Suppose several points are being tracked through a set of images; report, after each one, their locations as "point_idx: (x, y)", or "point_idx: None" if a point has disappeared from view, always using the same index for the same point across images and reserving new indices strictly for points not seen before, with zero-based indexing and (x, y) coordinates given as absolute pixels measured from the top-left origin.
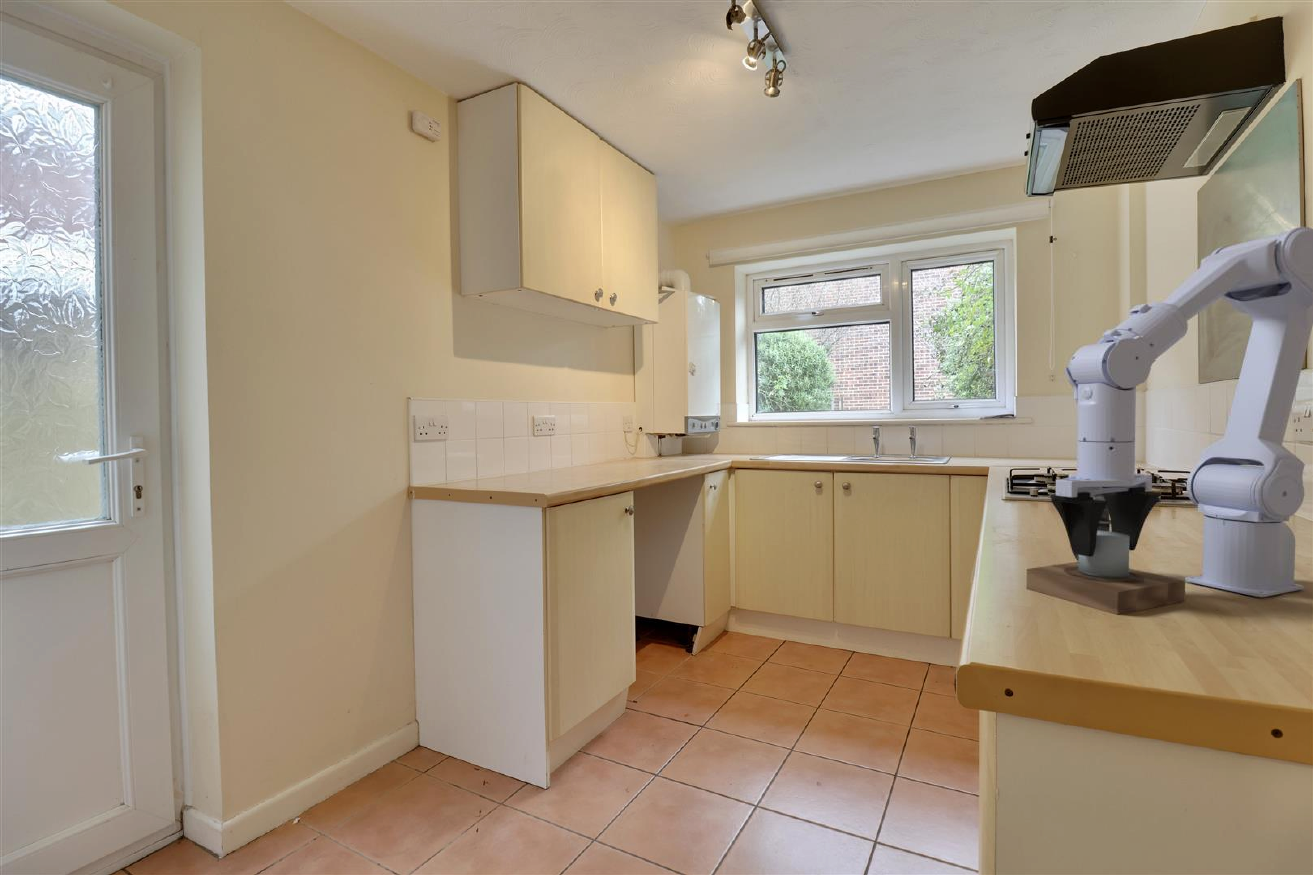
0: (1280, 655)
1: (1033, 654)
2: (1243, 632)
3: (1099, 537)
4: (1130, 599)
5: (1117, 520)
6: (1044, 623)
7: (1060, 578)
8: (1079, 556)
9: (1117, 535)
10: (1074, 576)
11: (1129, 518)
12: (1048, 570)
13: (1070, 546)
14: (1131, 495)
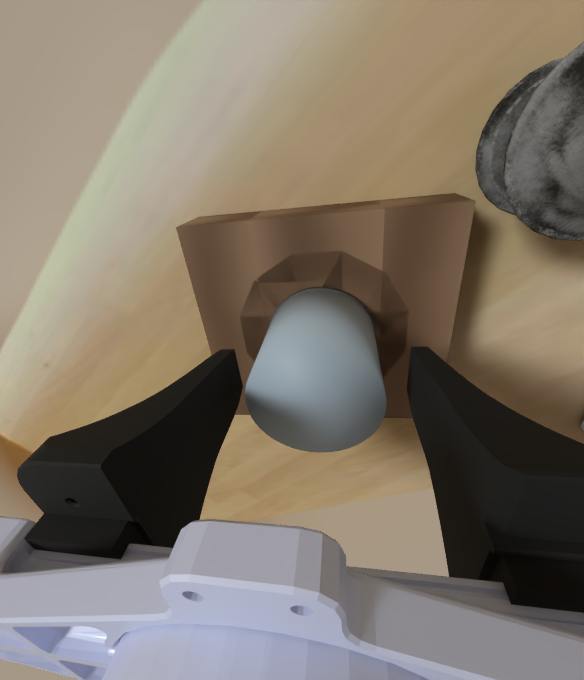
0: (286, 503)
1: (38, 426)
2: (331, 471)
3: (255, 422)
4: None
5: (439, 415)
6: (103, 374)
7: (202, 318)
8: (270, 326)
9: (333, 428)
10: (241, 322)
11: (438, 461)
12: (222, 261)
13: (568, 54)
14: (471, 577)
